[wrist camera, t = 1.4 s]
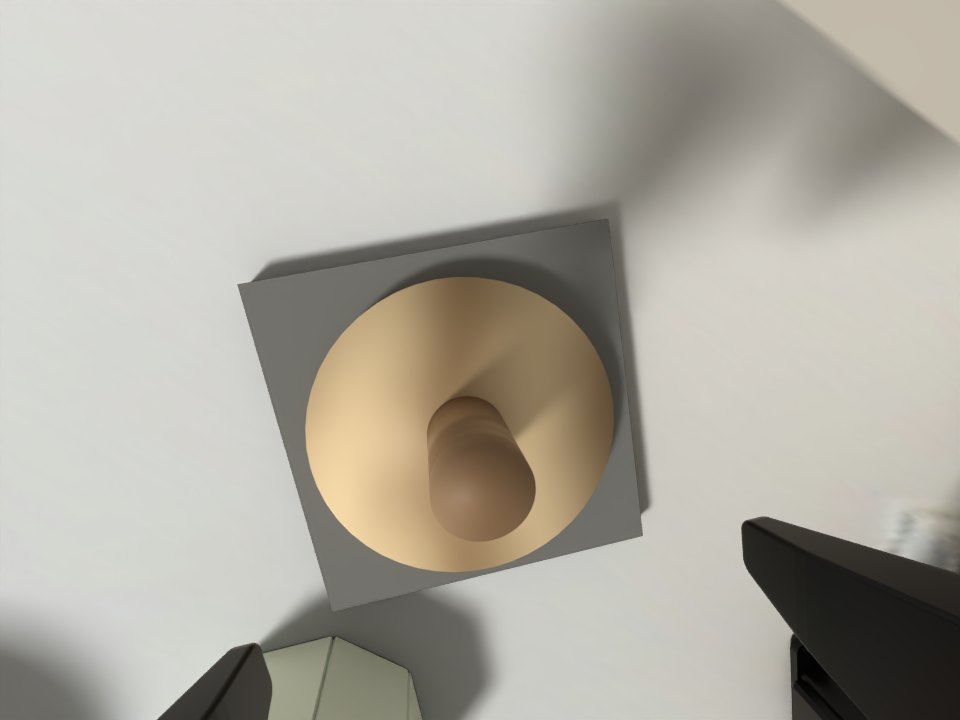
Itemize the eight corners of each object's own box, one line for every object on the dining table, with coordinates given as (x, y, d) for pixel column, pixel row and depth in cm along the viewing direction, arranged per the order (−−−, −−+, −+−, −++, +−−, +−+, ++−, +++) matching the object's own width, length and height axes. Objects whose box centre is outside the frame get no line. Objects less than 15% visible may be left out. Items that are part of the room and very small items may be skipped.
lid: (584, 251, 16) (662, 242, 11) (617, 520, 19) (695, 617, 13) (276, 308, 15) (201, 328, 10) (352, 585, 18) (324, 717, 12)
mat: (597, 221, 17) (608, 218, 16) (632, 522, 20) (642, 535, 19) (248, 283, 16) (237, 284, 15) (337, 594, 19) (332, 611, 18)
